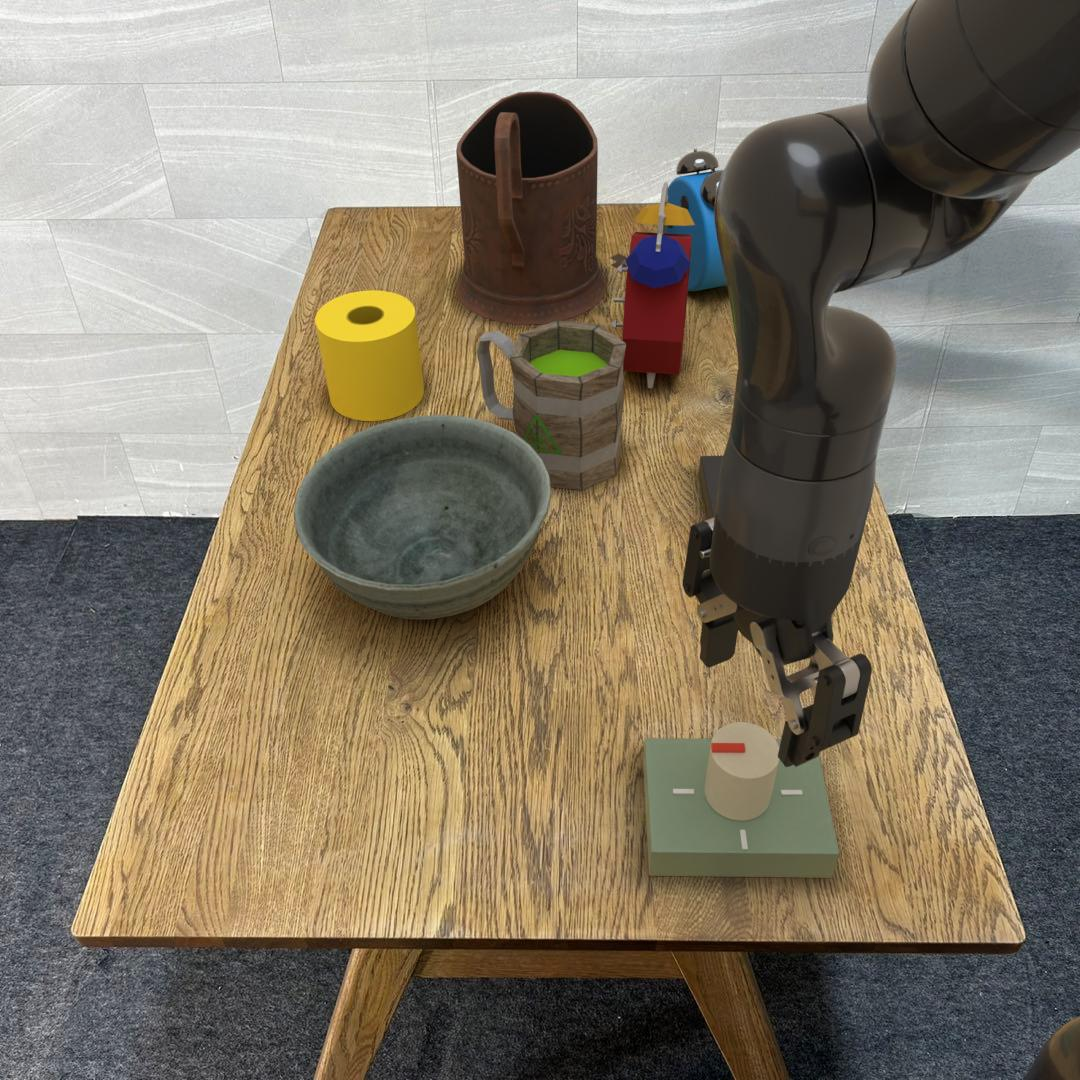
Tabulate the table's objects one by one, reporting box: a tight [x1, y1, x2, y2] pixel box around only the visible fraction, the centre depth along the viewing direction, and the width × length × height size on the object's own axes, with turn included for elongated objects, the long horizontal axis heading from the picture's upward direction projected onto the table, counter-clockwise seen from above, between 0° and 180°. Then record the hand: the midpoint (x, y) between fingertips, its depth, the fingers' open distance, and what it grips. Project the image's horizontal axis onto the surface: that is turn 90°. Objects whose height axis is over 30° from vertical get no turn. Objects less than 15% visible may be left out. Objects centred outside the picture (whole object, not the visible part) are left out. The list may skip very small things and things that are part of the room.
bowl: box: [293, 414, 552, 620], centre depth 87 cm, size 21×21×10 cm
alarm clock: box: [665, 148, 728, 293], centre depth 122 cm, size 13×6×15 cm, turn 18°
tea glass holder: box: [455, 91, 608, 325], centre depth 117 cm, size 18×24×25 cm
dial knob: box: [704, 721, 779, 821], centre depth 68 cm, size 4×4×5 cm
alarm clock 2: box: [604, 181, 695, 390], centre depth 108 cm, size 15×9×20 cm, turn 171°
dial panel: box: [642, 737, 840, 879], centre depth 71 cm, size 12×9×3 cm
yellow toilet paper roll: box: [314, 289, 425, 422], centre depth 108 cm, size 10×10×9 cm
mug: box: [476, 320, 626, 491], centre depth 99 cm, size 16×11×12 cm
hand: (754, 706), depth 64 cm, fingers open, 8 cm apart
